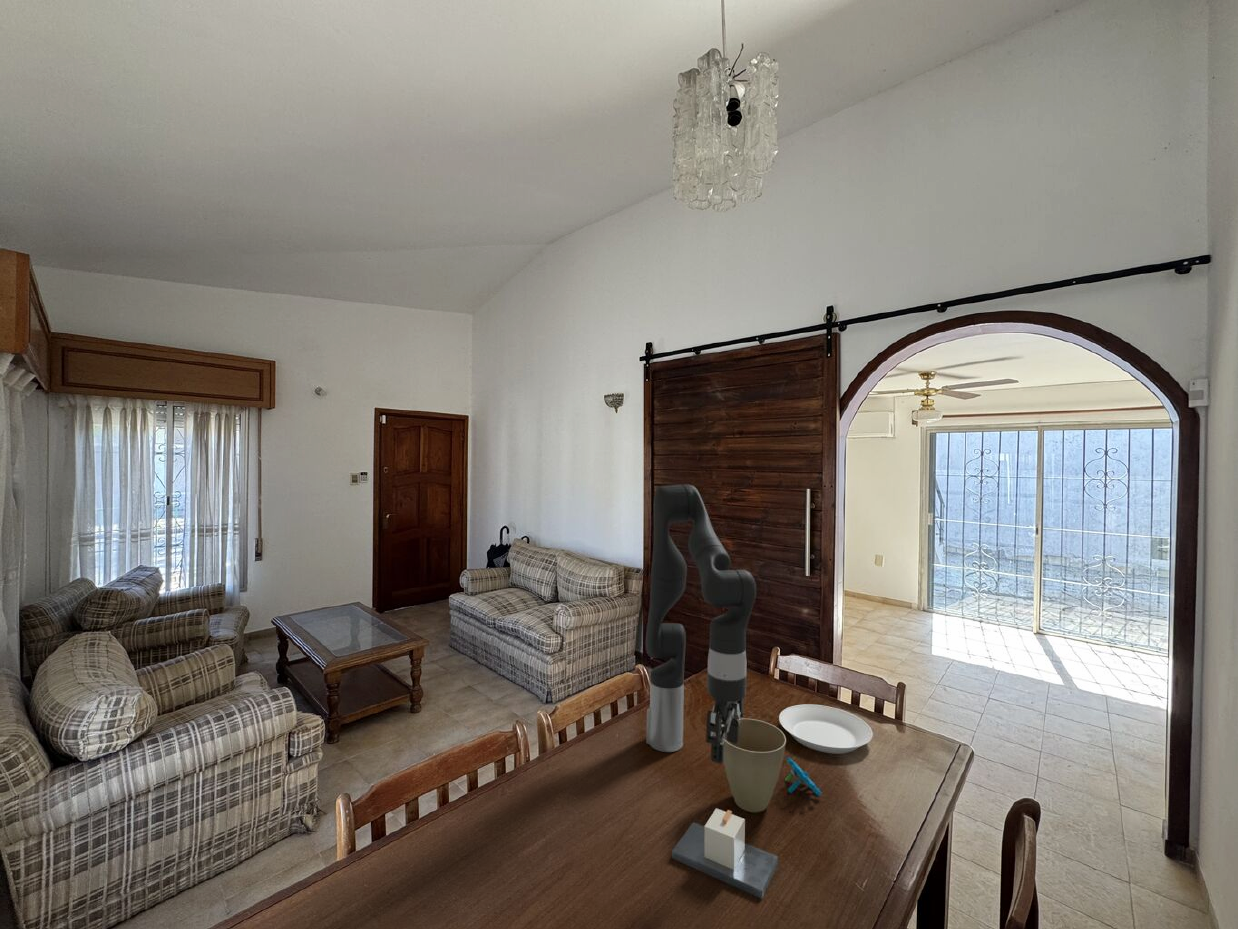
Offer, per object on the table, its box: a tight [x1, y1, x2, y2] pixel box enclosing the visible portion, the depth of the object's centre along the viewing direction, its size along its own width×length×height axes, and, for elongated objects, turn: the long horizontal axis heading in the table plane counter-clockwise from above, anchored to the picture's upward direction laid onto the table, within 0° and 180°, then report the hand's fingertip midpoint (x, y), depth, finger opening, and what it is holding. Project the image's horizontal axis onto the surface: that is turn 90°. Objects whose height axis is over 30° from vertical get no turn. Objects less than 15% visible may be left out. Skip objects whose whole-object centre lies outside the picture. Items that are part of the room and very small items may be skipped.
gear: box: [784, 756, 823, 797], centre depth 129 cm, size 11×6×10 cm
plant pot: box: [721, 717, 787, 813], centre depth 124 cm, size 15×15×16 cm
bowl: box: [778, 703, 874, 754], centre depth 155 cm, size 25×25×4 cm
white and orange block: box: [704, 807, 746, 870], centre depth 106 cm, size 6×6×7 cm
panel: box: [671, 821, 779, 900], centre depth 106 cm, size 18×10×6 cm, turn 58°
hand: (725, 751), depth 107 cm, fingers open, 8 cm apart
